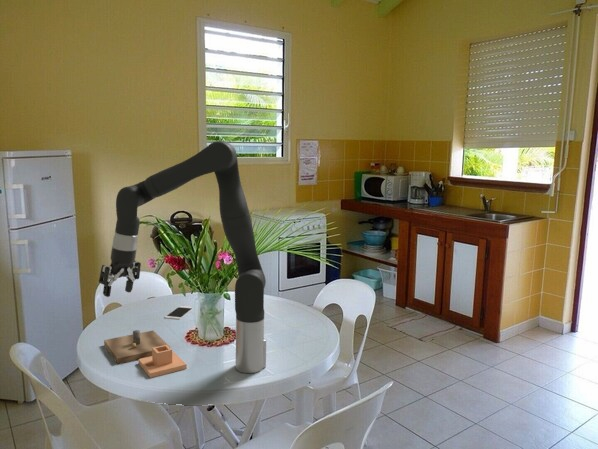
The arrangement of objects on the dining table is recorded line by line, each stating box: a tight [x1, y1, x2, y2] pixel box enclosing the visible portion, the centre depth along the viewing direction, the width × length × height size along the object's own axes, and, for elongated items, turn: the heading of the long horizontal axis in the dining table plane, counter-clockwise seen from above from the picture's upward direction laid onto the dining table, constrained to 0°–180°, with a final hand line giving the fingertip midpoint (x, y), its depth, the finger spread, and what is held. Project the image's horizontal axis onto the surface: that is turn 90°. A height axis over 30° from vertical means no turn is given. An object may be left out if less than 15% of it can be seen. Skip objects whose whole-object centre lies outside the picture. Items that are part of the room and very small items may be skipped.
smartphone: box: [164, 305, 195, 321], centre depth 208 cm, size 7×16×1 cm, turn 170°
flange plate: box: [138, 344, 188, 379], centre depth 156 cm, size 12×12×6 cm
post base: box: [103, 329, 171, 365], centre depth 169 cm, size 18×18×6 cm
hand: (117, 293), depth 156 cm, fingers open, 8 cm apart
